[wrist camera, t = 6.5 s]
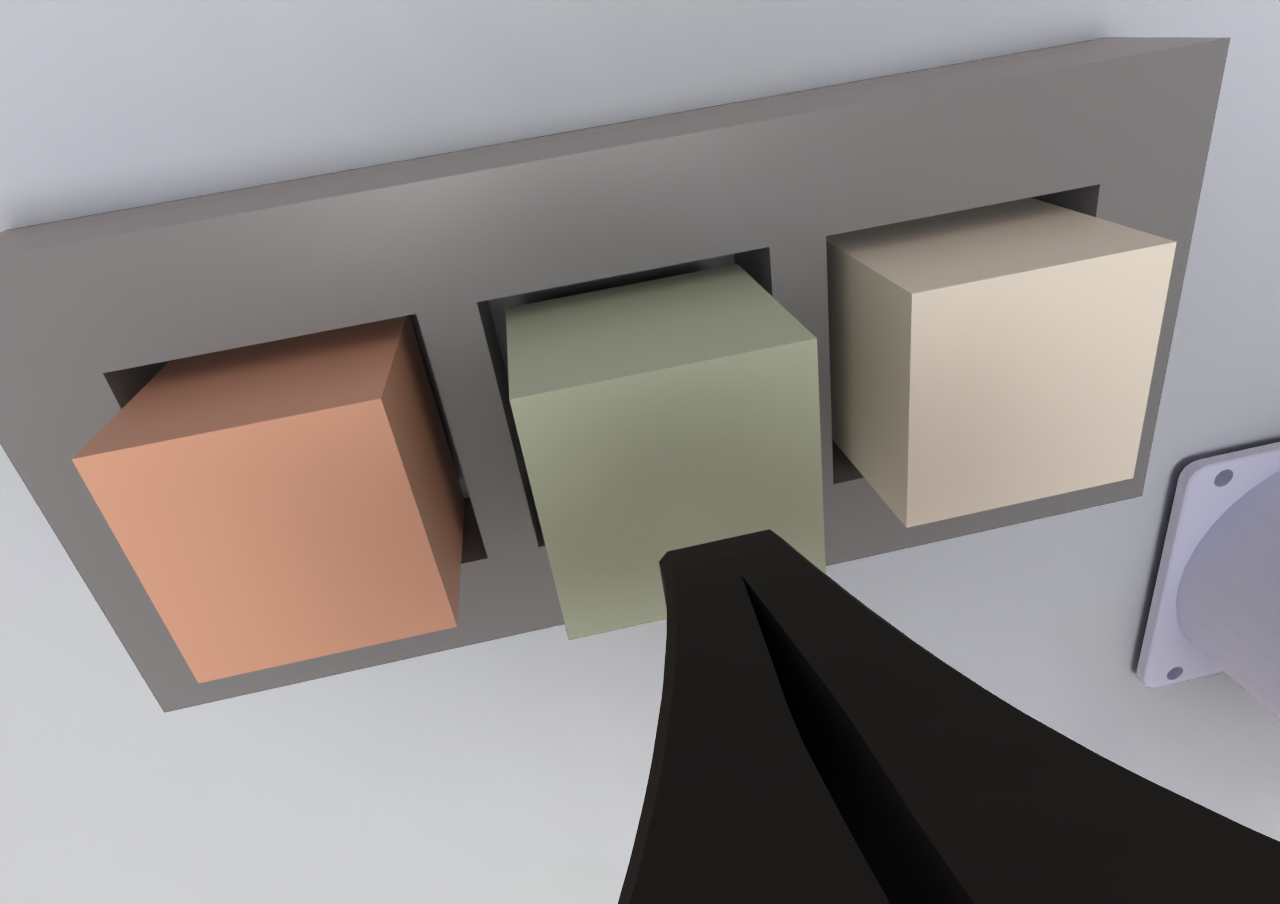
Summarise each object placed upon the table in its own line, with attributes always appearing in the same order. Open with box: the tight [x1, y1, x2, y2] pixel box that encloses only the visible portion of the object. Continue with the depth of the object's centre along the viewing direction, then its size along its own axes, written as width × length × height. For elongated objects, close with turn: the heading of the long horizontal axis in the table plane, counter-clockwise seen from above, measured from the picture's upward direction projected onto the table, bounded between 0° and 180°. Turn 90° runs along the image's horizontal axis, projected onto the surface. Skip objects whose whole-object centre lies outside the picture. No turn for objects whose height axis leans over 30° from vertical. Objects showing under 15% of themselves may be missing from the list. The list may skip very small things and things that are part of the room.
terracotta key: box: [71, 315, 465, 683], centre depth 14 cm, size 4×4×4 cm
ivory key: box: [826, 198, 1177, 528], centre depth 15 cm, size 4×4×4 cm
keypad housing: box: [0, 38, 1230, 713], centre depth 16 cm, size 21×9×3 cm, turn 98°
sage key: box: [506, 264, 826, 640], centre depth 13 cm, size 4×4×4 cm
